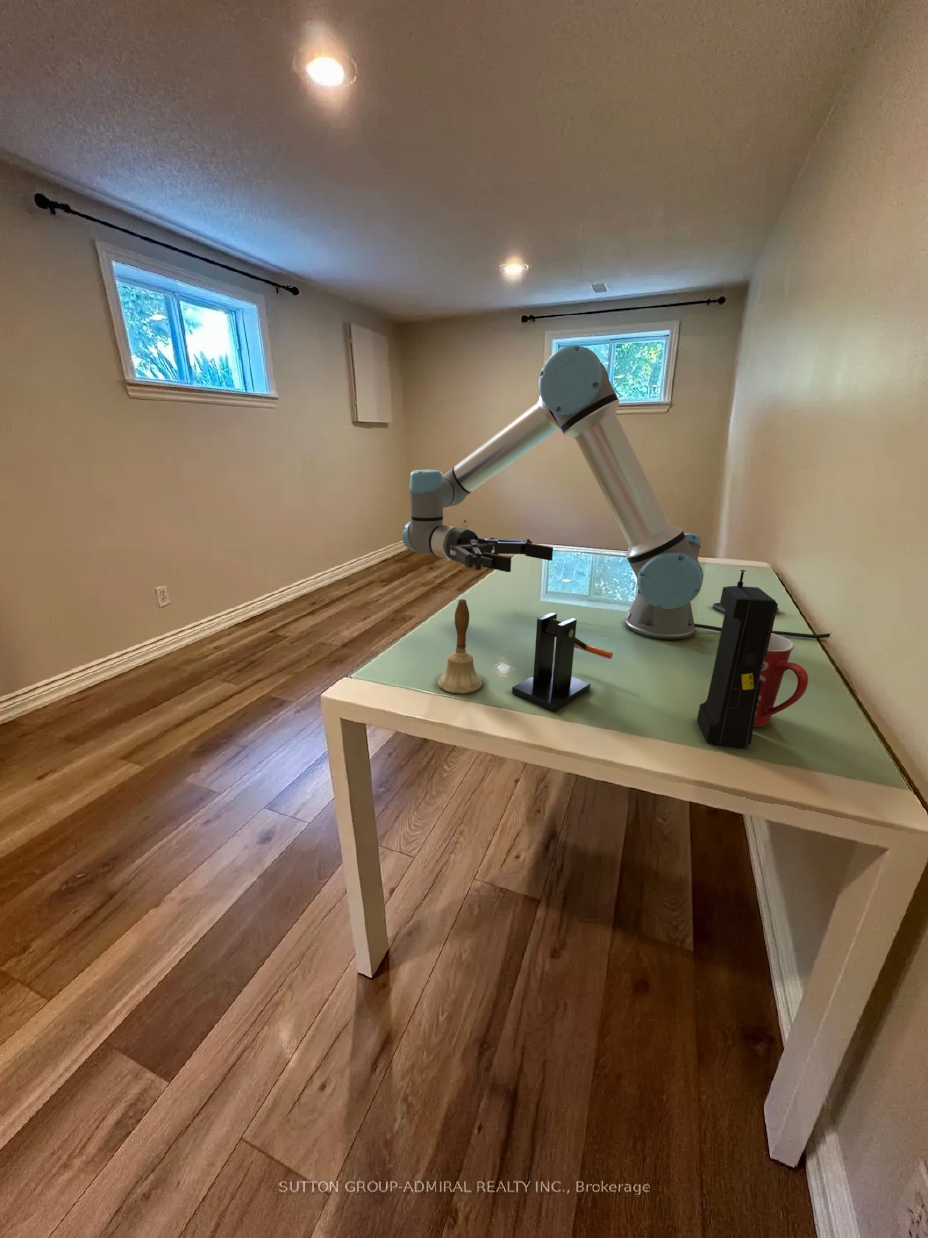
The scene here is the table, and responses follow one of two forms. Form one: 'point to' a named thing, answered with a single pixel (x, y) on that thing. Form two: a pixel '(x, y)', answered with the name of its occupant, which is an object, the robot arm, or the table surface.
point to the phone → (720, 608)
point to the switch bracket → (547, 683)
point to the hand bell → (460, 659)
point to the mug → (777, 679)
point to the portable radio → (738, 666)
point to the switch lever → (577, 641)
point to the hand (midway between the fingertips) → (531, 559)
